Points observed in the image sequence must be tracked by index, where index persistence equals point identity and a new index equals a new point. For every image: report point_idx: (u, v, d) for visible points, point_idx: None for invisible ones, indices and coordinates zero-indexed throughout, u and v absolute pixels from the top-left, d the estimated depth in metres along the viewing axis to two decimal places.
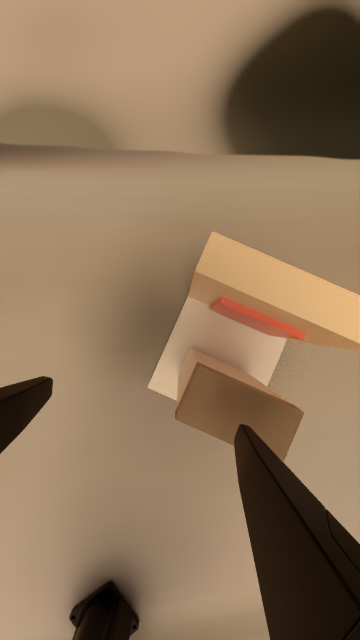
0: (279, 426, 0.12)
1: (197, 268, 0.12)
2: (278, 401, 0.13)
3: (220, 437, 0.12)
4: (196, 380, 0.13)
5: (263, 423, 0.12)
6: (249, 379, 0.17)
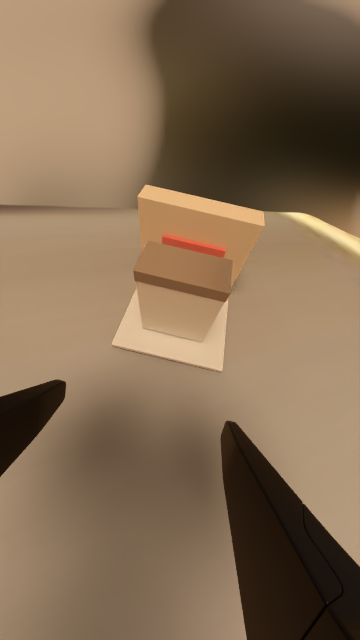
0: (218, 268, 0.16)
1: (139, 195, 0.19)
2: (212, 256, 0.17)
3: (174, 279, 0.14)
4: (148, 248, 0.16)
5: (206, 268, 0.16)
6: None
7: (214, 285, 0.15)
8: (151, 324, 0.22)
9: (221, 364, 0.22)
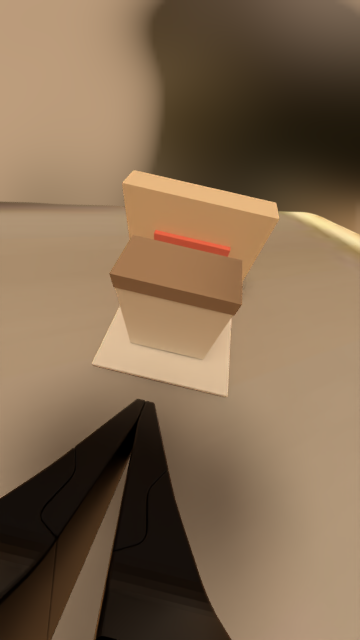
0: (224, 271, 0.12)
1: (124, 181, 0.16)
2: (216, 255, 0.13)
3: (165, 284, 0.11)
4: (131, 244, 0.12)
5: (208, 270, 0.12)
6: None
7: (220, 292, 0.11)
8: (140, 338, 0.18)
9: (226, 387, 0.18)
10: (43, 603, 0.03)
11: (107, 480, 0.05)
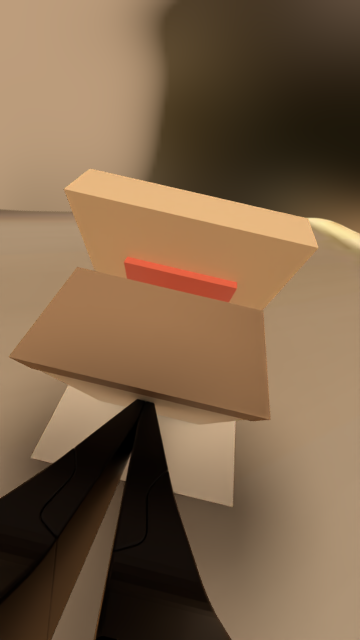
0: (233, 336, 0.07)
1: (67, 187, 0.10)
2: (218, 302, 0.08)
3: (119, 378, 0.05)
4: (71, 286, 0.07)
5: (204, 336, 0.07)
6: None
7: (227, 390, 0.06)
8: (110, 401, 0.13)
9: (230, 490, 0.12)
10: (43, 603, 0.03)
11: (107, 480, 0.05)
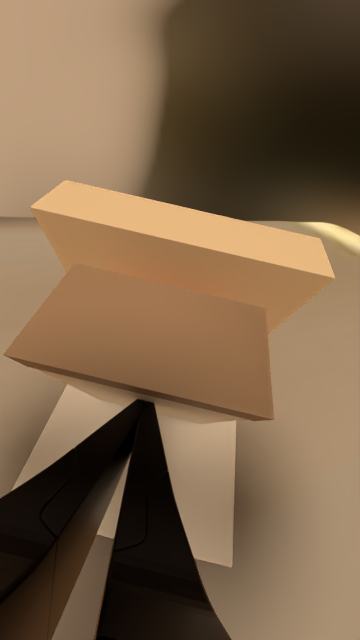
0: (236, 333, 0.06)
1: (35, 205, 0.08)
2: (220, 299, 0.07)
3: (118, 377, 0.05)
4: (68, 282, 0.07)
5: (205, 333, 0.06)
6: None
7: (229, 390, 0.05)
8: (109, 400, 0.12)
9: (230, 546, 0.11)
10: (43, 603, 0.03)
11: (107, 480, 0.05)
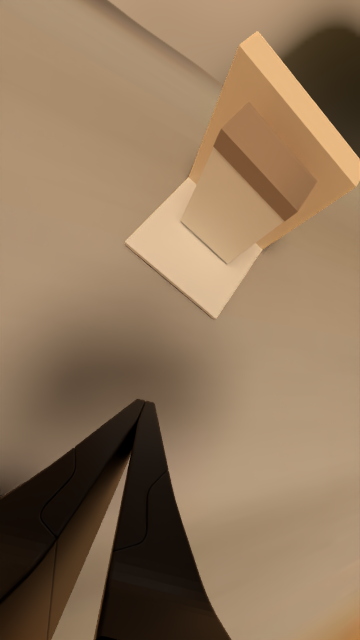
0: (300, 181, 0.14)
1: (241, 45, 0.13)
2: (301, 165, 0.14)
3: (256, 164, 0.13)
4: (245, 111, 0.13)
5: (289, 172, 0.14)
6: None
7: (289, 194, 0.14)
8: (192, 219, 0.21)
9: (218, 313, 0.22)
10: (43, 603, 0.03)
11: (107, 480, 0.05)
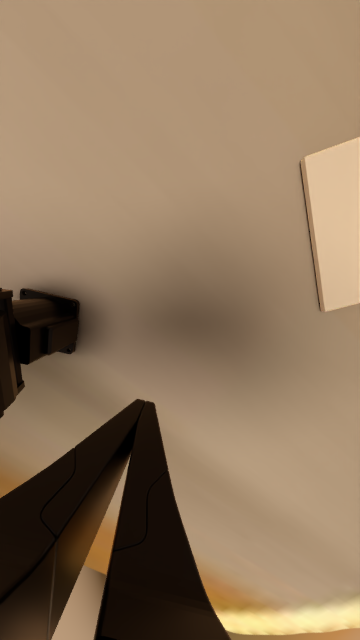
0: None
1: None
2: None
3: None
4: None
5: None
6: None
7: None
8: None
9: (333, 308, 0.18)
10: (43, 603, 0.03)
11: (107, 480, 0.05)
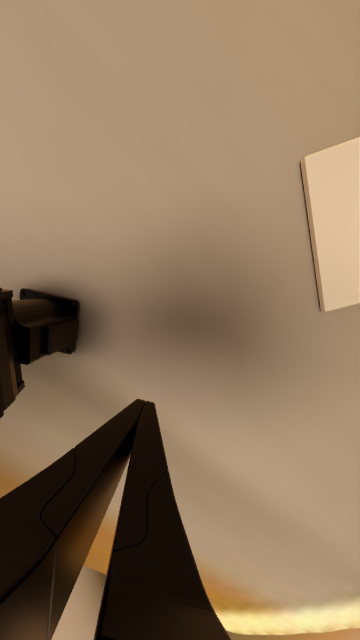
0: None
1: None
2: None
3: None
4: None
5: None
6: None
7: None
8: None
9: (333, 308, 0.18)
10: (43, 603, 0.03)
11: (107, 480, 0.05)
